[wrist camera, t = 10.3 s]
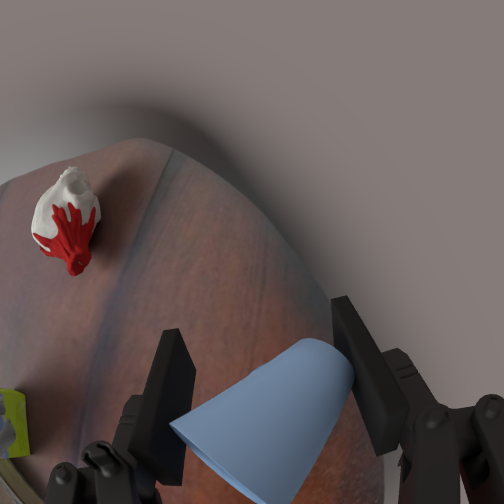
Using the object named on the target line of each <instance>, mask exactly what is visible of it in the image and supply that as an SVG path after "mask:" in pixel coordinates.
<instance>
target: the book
mask: <svg viewBox="0 0 504 504" xmlns="http://www.w3.org/2000/svg"><path fill="white" fill-rule="evenodd" d="M0 504H44V499H43V498H42V497H41V496H40V495H39V494H38V492H37V491H36V490H35V489H34V488H33V487H32V486H31V485H30V483H29V482H28V481H27V480H26V479H25V478H24V476H23V475H22V474H21V473H20V472H19V470H18V469H17V468H16V467H15V465H14V464H13V463H12V461H11V460H10V459H9V458H7V459H0Z"/></svg>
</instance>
